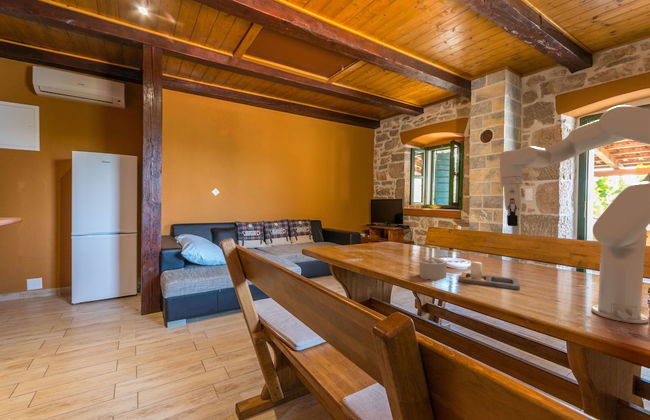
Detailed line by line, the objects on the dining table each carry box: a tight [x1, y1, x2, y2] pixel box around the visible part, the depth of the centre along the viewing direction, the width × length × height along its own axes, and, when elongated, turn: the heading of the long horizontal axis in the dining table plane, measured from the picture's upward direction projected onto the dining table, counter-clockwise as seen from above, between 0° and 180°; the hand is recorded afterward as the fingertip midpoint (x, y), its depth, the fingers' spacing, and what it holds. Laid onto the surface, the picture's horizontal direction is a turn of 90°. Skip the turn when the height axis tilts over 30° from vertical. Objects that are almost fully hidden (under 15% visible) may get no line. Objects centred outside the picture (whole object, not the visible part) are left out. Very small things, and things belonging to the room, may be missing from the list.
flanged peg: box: [468, 261, 485, 280], centre depth 132 cm, size 6×6×8 cm
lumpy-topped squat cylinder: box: [419, 256, 448, 281], centre depth 138 cm, size 10×13×9 cm
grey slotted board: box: [459, 271, 521, 291], centre depth 130 cm, size 13×22×2 cm, turn 60°
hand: (512, 225), depth 118 cm, fingers open, 9 cm apart
